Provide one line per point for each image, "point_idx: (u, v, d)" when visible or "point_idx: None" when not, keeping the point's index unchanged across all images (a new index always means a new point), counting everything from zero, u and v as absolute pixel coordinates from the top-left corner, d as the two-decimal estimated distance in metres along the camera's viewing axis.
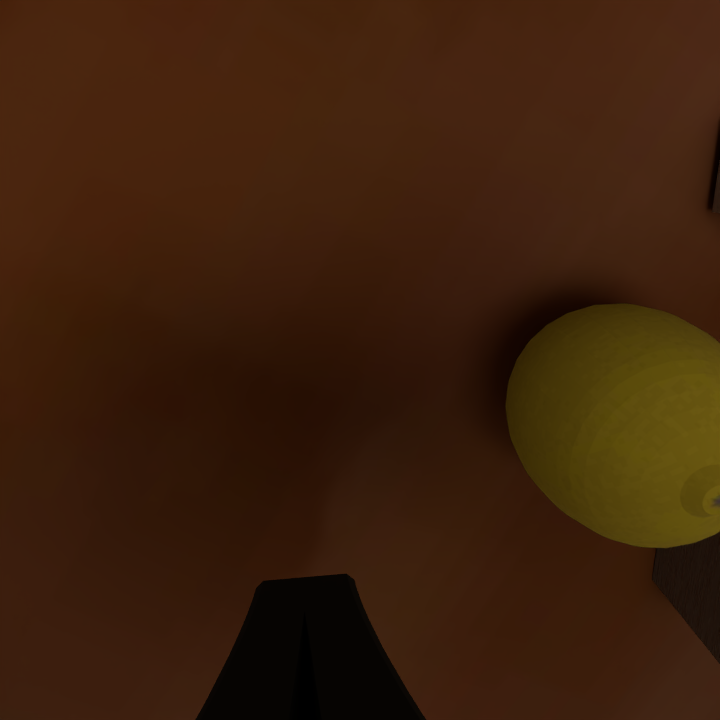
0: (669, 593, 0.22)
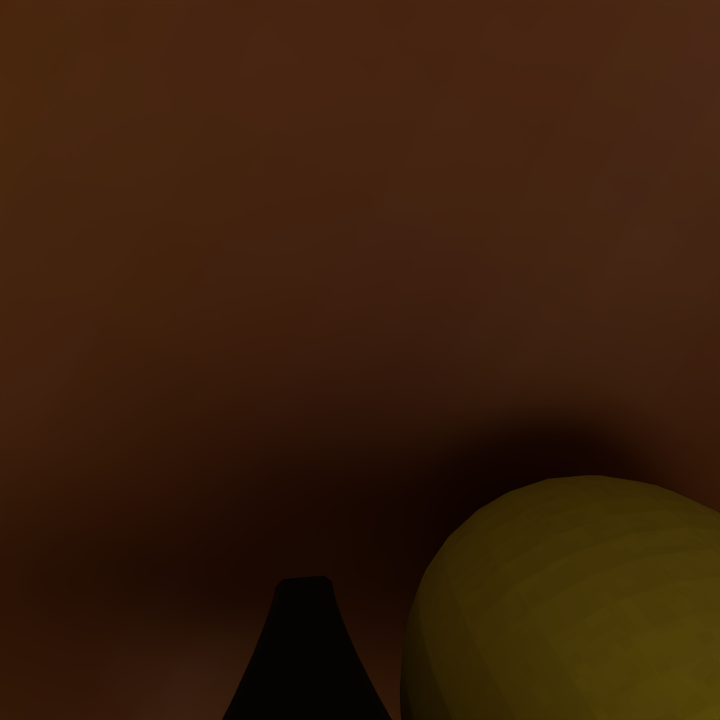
0: None
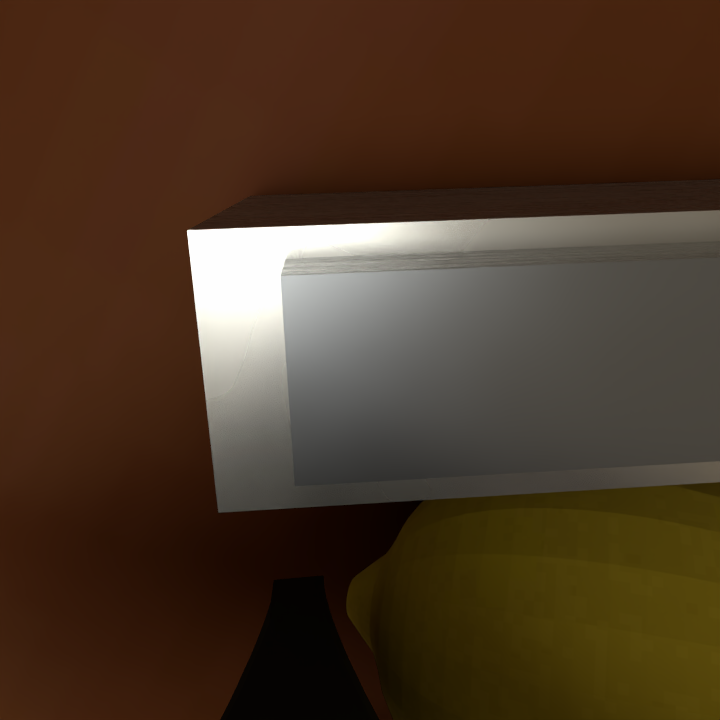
0: None
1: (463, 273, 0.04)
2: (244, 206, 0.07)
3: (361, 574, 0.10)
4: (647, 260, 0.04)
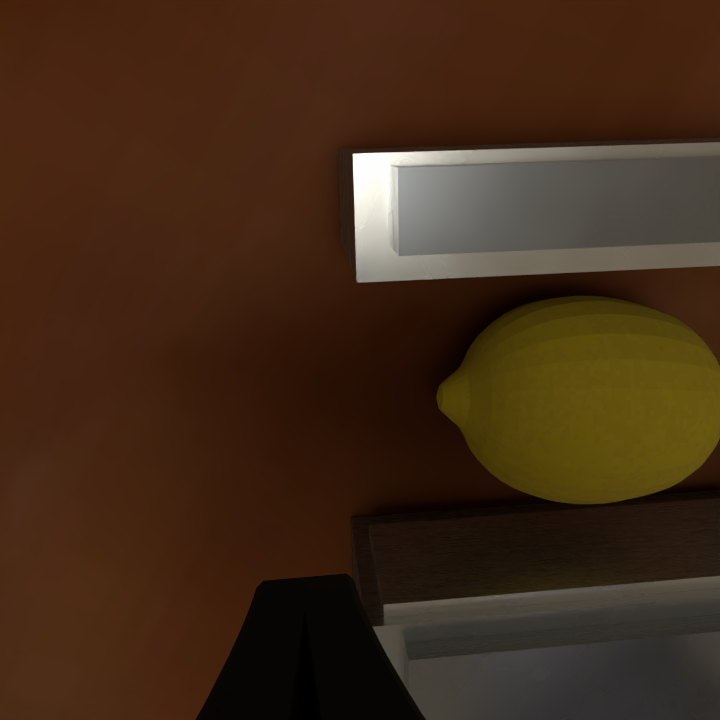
0: None
1: (466, 168, 0.12)
2: (351, 150, 0.15)
3: (449, 380, 0.17)
4: (536, 163, 0.12)
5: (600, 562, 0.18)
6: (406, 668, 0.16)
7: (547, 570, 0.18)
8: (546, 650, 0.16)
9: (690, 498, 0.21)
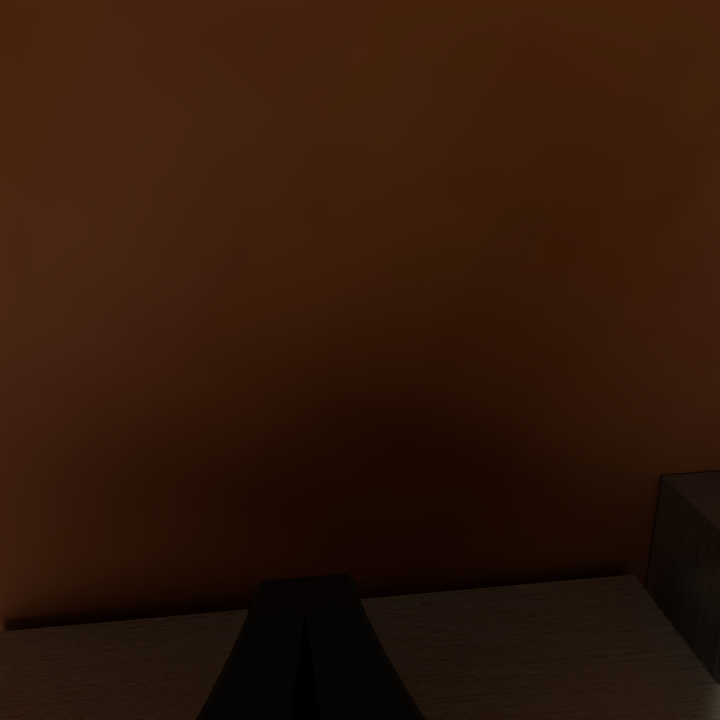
0: None
1: None
2: None
3: None
4: None
5: None
6: None
7: None
8: None
9: None
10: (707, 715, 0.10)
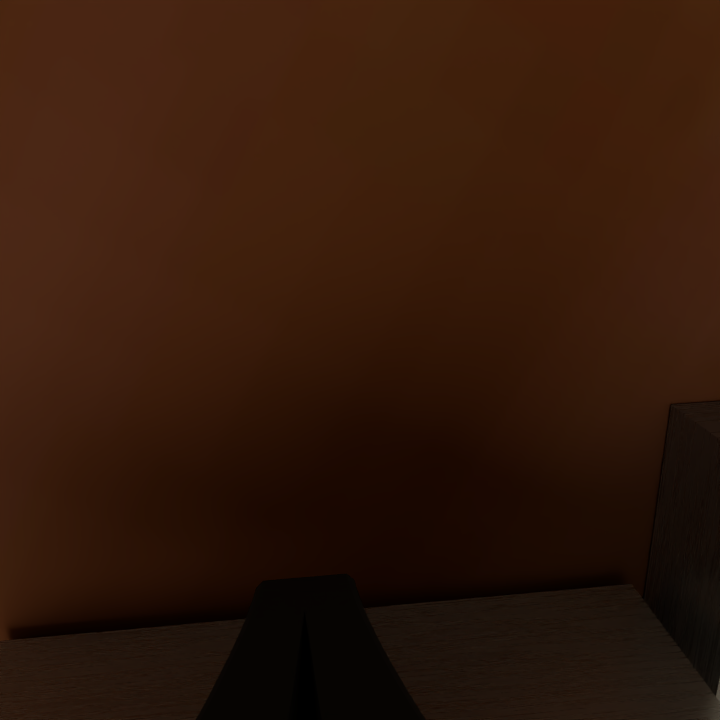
0: None
1: None
2: None
3: None
4: None
5: None
6: None
7: None
8: None
9: None
10: None
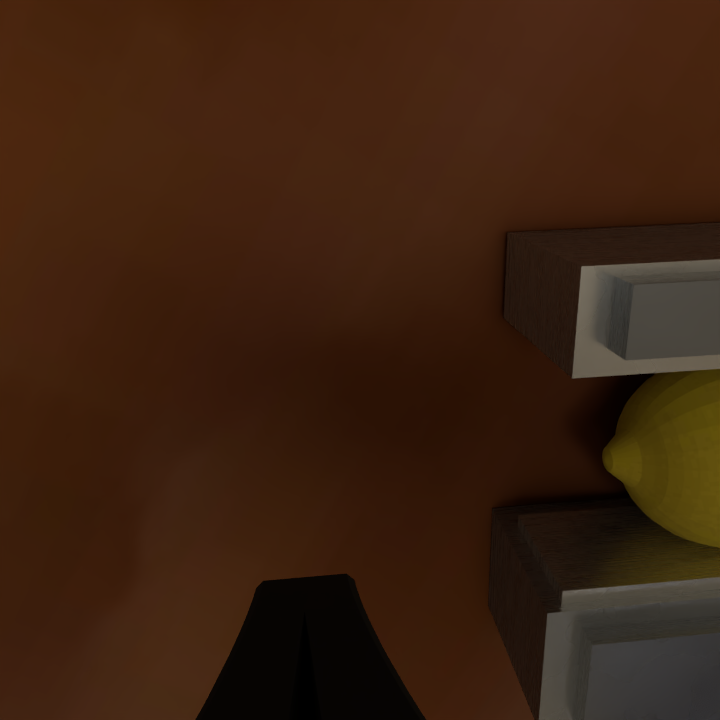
0: (497, 621, 0.22)
1: (693, 283, 0.13)
2: (545, 246, 0.16)
3: (619, 449, 0.18)
4: None
5: None
6: (585, 653, 0.17)
7: (712, 557, 0.18)
8: None
9: None
10: None
